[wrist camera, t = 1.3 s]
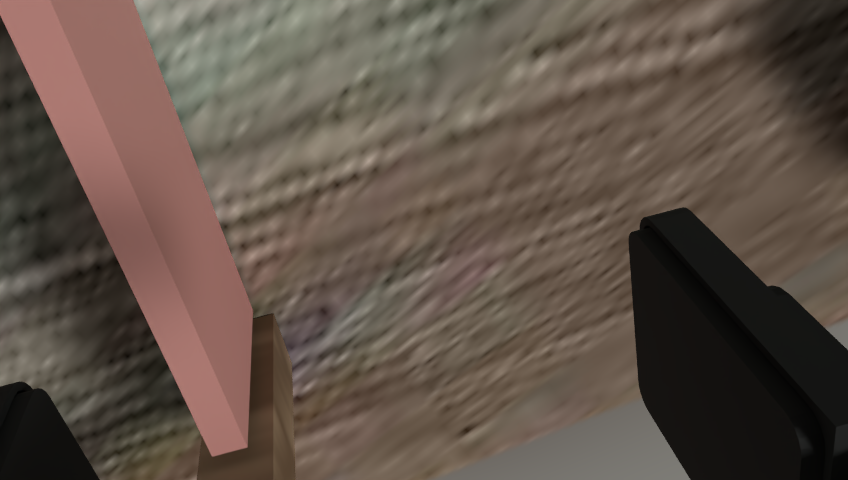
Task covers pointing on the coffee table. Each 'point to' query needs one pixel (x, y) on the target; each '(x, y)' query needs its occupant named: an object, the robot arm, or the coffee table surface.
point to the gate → (145, 196)
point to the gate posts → (262, 415)
